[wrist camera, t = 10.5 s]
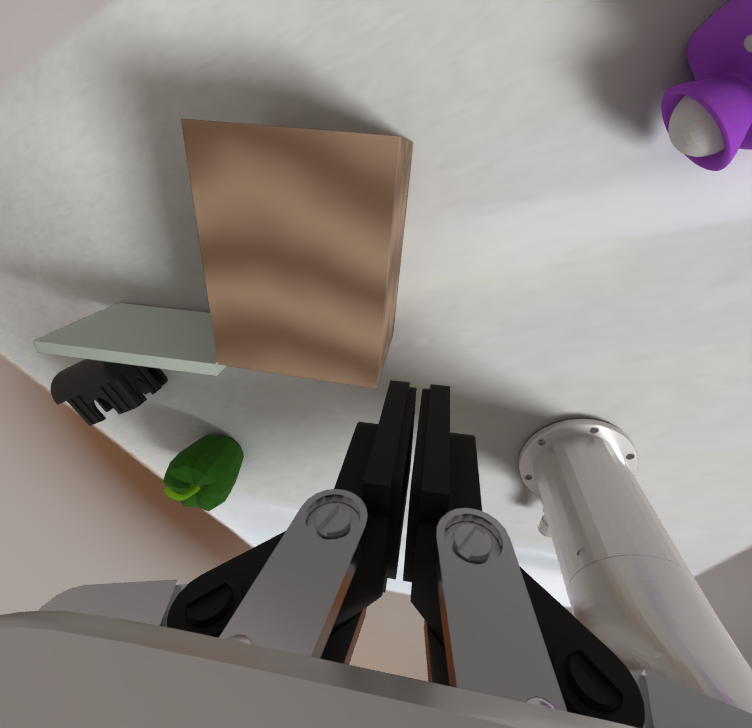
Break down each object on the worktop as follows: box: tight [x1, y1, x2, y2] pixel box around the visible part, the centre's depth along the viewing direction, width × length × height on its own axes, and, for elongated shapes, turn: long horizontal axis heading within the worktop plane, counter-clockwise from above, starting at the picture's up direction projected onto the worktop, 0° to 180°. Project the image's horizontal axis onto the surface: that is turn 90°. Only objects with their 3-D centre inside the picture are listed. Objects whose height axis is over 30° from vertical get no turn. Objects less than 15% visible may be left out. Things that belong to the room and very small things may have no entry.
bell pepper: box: [163, 435, 244, 511], centre depth 49 cm, size 8×8×10 cm
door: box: [33, 303, 227, 376], centre depth 39 cm, size 18×2×11 cm, turn 87°
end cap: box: [51, 359, 168, 426], centre depth 47 cm, size 10×7×7 cm
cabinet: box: [181, 119, 413, 389], centre depth 32 cm, size 18×14×11 cm
